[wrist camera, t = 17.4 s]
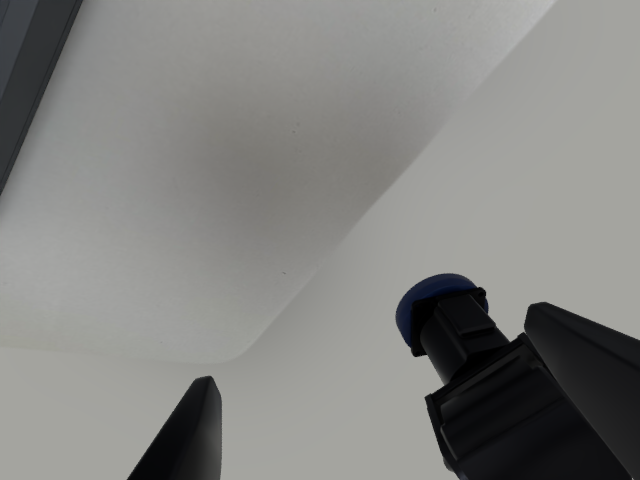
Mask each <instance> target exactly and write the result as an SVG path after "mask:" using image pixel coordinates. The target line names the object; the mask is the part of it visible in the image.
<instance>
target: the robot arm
mask: <svg viewBox="0 0 640 480" xmlns="http://www.w3.org/2000/svg"><path fill="white" fill-rule="evenodd" d="M485 299H486V291H485V290H484V289H483V288H482V287H476V288H472V289H467V290H462V291H457V292H453V293H448V294H443V295H439V296H434V297H429V298H425V299H420V300H416V301H414V302H412V304H411V353H412V355H413V356H414V357H420V356H424V355H428V357H429V359H430V360H431V362H432V364H433V366H434V368H435V369H436V371H437V373H438V375H439V376H440V378H441V380H442V382H443V384H444V385H445V386H443V387H442V388H440V389H439V390H437V391H436V392H434V393H433V394H429V395H427V396H426V397H425V400H426V404H427V410H428V413H429V416H430V419H431V423H432V426H433V429H434V432H435V435H436V438H437V442H438V445H439V448H440V451H441V453H442V456H443V461H444V464H445V466H446V468H447V469H448V470H450V471H452V472H454V473H455V474H456V475H457V477H458V478H459V479H460V480H632V478H633V479H634V480H640V340H638V339H635V338H633V337H630V336H628V335H625V334H623V333H621V332H618V331H616V330H613V329H611V328H608V327H606V326H603V325H601V324H599V323H596V322H593V321H591V320H589V319H586V318H584V317H581V316H579V315H577V314H574V313H572V312H569V311H567V310H564V309H562V308H559V307H557V306H554V305H552V304H549V303H547V302H540V303H535V304H531V305H530V306H529V307H528V310H527V315H526V320H525V324H524V329H525V332H526V334H527V335H526V334H525V333H524V332H523V333H521V334H520V335H518V338H516V339H515V340H513V341H512V342H510V341H509V340H508V339H507V338H506V337H505V336H504V335H503V333H502V332H501V331H500V330H499V329H498V328H497V327H496V324H495V322H494V321H493V320H492V319H491V318H490V317H489V316H488V314H487V313H486V312H485V311H484V306H485ZM418 305H419V306H418ZM417 306H418V307H417ZM221 459H222V400H221V395H220V392H219V390H218V388H217V386H216V384H215V381H214V379H213V378H212V377H211V376H205V377H200V378H197V379H195V380H194V381H193V383H192V384H191V386H190V387H189V389H188V390H187V392H186V393H185V395H184V396H183V397H182V399H181V401H180V402H179V403H178V405H177V406H176V408H175V409H174V411H173V412H172V414H171V415H170V417H169V418H168V420H167V421H166V422H165V424H164V425H163V427H162V428H161V430H160V431H159V433H158V434H157V436H156V437H155V439H154V440H153V442H152V443H151V445H150V446H149V448H148V449H147V451H146V452H145V453H144V455H143V457H142V458H141V459H140V461H139V462H138V464H137V465H136V467H135V468H134V470H133V472H132V473H131V474H130V476H129V477H128V479H127V480H220V475H221Z"/></svg>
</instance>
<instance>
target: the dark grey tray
mask: <svg viewBox="0 0 640 480" xmlns="http://www.w3.org/2000/svg"><path fill="white" fill-rule="evenodd" d="M81 2H82V0H0V195H1V192H2V190H3V188H4V185H5V183H6V181H7V178H8V176H9V173H10V171H11V169H12V166H13V164H14V162H15V159H16V157H17V154H18V152H19V150H20V147H21V145H22V143H23V140H24V138H25V135H26V133H27V131H28V128H29V126H30V124H31V121H32V119H33V116H34V114H35V112H36V109H37V107H38V105H39V102H40V100H41V97H42V95H43V93H44V90H45V88H46V86H47V83H48V81H49V78H50V76H51V74H52V71H53V69H54V67H55V64H56V62H57V59H58V57H59V55H60V52H61V50H62V48H63V45H64V43H65V40H66V38H67V36H68V33H69V31H70V28H71V26H72V24H73V21H74V19H75V17H76V14H77V12H78V9H79V7H80V5H81Z"/></svg>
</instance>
